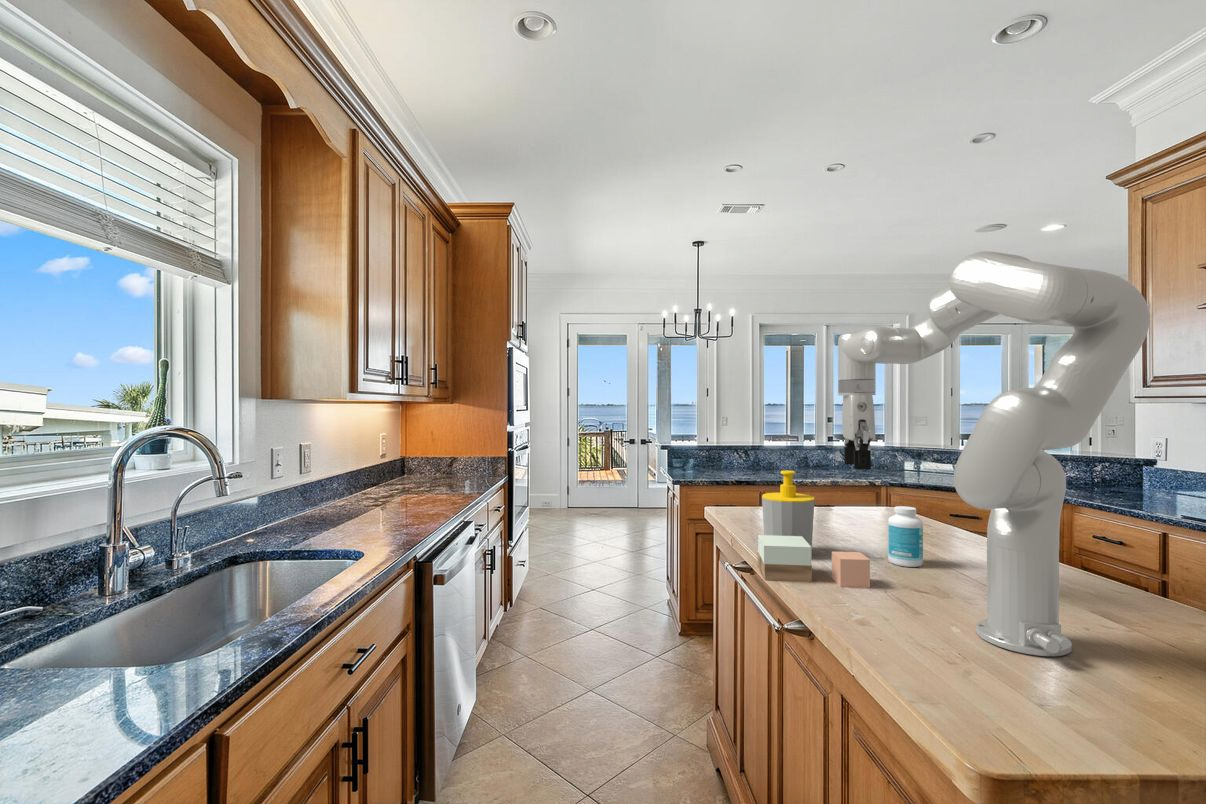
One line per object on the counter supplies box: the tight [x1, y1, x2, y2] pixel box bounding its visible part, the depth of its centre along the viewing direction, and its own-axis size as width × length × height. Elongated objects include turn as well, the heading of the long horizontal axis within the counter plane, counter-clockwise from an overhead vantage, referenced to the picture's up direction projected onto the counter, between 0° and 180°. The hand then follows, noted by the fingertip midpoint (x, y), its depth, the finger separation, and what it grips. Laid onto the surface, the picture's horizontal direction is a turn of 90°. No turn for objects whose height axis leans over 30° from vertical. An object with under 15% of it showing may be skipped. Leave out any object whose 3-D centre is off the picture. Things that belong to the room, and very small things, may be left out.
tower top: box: [757, 534, 812, 566], centre depth 129 cm, size 10×10×4 cm
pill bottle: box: [887, 505, 924, 568], centre depth 137 cm, size 8×7×14 cm
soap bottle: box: [761, 470, 815, 555], centre depth 146 cm, size 13×13×21 cm
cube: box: [831, 551, 871, 589], centre depth 122 cm, size 6×6×6 cm
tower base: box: [756, 551, 813, 583], centre depth 129 cm, size 10×10×4 cm
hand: (856, 466), depth 124 cm, fingers open, 9 cm apart
